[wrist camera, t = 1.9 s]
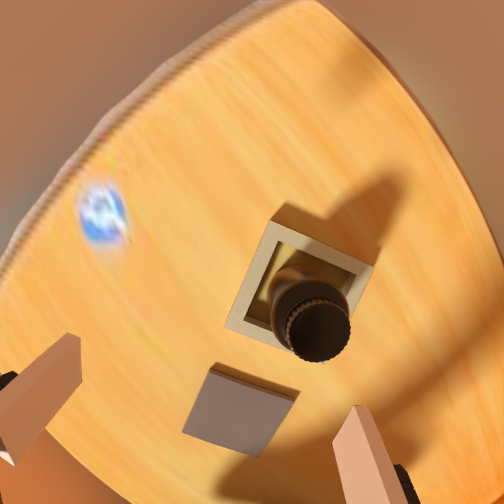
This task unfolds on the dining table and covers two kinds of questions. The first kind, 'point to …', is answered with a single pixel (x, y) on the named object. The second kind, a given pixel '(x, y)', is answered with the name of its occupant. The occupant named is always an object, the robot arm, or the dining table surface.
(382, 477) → the robot arm
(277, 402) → the slate coaster
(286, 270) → the supplement bottle
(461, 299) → the dining table surface
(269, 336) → the frame
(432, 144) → the dining table surface
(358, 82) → the dining table surface
